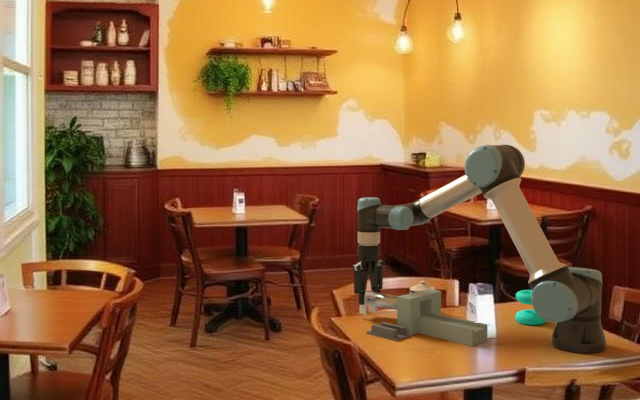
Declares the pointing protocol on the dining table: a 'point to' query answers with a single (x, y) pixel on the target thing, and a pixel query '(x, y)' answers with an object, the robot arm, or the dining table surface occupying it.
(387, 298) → the dowel
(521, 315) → the donuts
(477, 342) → the shelf
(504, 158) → the robot arm
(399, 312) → the grey-green rectangular arch
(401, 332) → the cradle
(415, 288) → the teacup with lid
